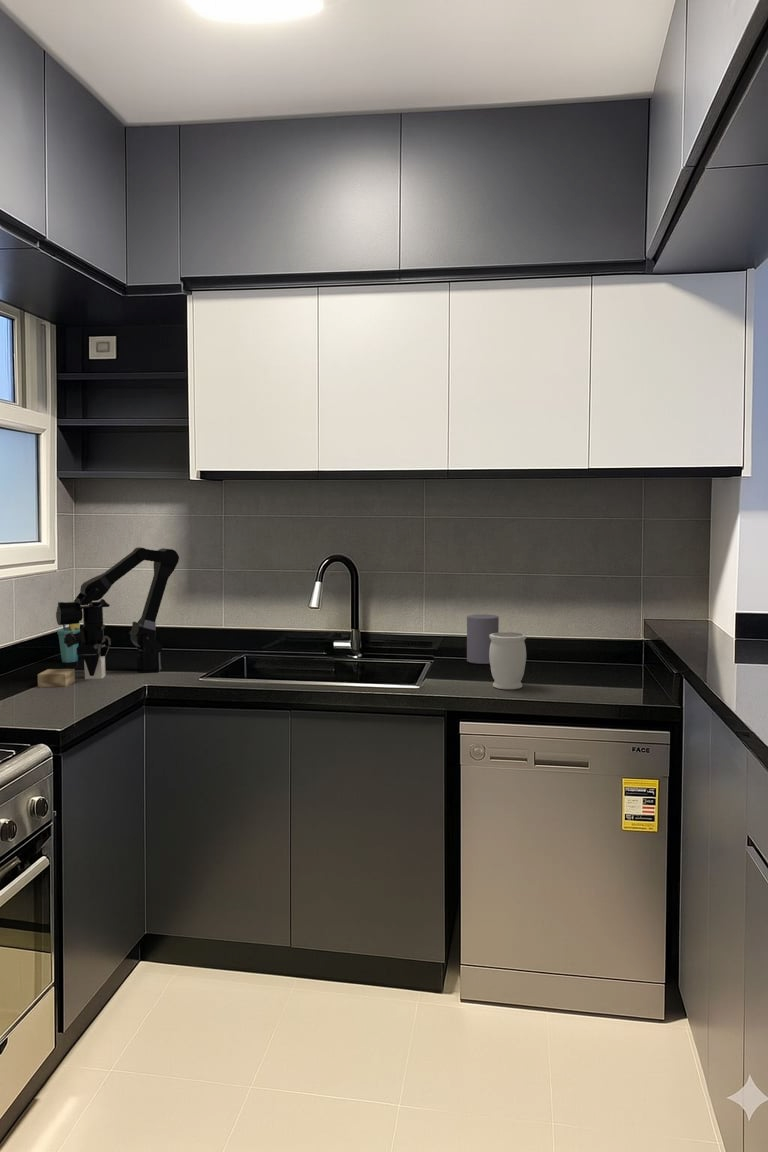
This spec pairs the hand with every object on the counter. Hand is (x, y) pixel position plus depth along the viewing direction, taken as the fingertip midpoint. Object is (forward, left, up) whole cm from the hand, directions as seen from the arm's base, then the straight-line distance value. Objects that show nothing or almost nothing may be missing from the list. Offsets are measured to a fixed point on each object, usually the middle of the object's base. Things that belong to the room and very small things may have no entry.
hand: (95, 673), depth 268 cm
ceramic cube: (0, 0, -1) cm, 1 cm away
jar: (-121, +30, -1) cm, 125 cm away
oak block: (+9, +9, -2) cm, 13 cm away
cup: (+15, -28, -1) cm, 32 cm away
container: (-122, -9, -1) cm, 122 cm away
